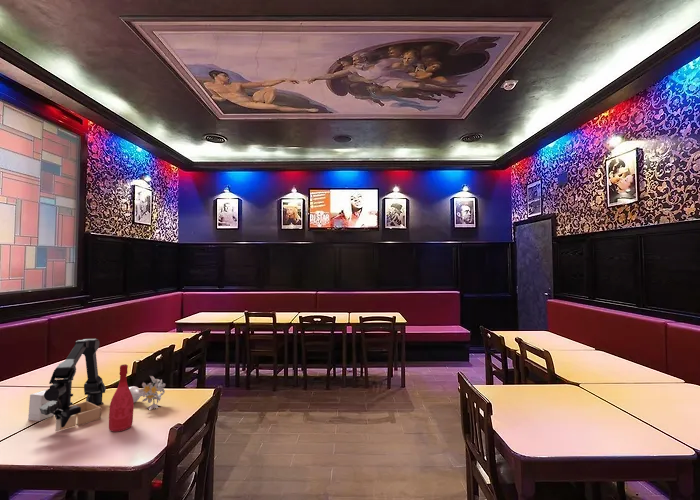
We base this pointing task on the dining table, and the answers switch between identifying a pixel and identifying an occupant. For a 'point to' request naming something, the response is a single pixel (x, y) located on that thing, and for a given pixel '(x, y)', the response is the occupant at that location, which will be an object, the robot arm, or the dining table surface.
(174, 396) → the dining table surface
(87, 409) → the carton
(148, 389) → the flower vase
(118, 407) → the wine bottle
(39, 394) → the supplement box
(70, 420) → the flap
